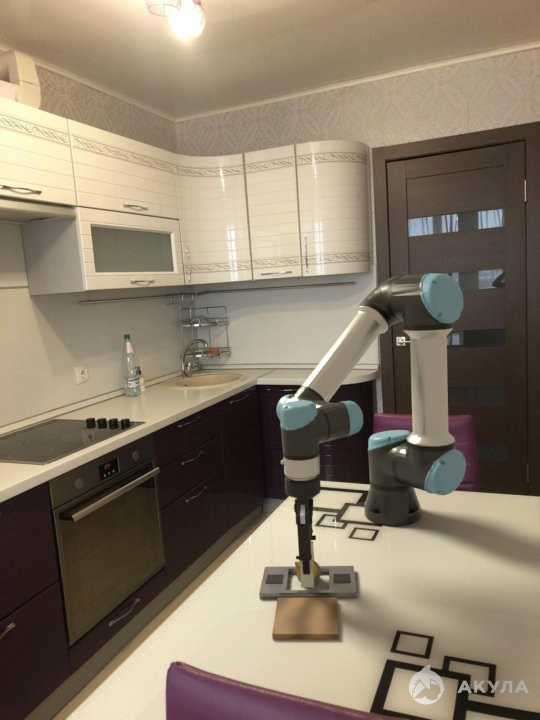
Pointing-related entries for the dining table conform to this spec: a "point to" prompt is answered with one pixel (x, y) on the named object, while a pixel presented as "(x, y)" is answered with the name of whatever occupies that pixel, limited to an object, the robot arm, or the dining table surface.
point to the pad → (306, 618)
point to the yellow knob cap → (315, 571)
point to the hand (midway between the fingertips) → (308, 577)
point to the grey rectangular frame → (338, 588)
